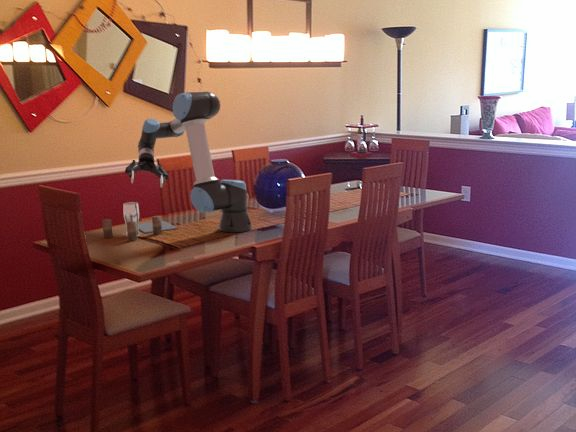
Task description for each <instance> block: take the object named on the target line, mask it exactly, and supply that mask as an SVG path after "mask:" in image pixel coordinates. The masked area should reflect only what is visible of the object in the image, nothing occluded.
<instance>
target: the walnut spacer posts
mask: <svg viewBox="0 0 576 432" xmlns="http://www.w3.org/2000/svg"><path fill="white" fill-rule="evenodd" d="M161 221H162V216H161V215H154V216H151V222H152V224H153V232H152V235H153V234H154V236H159V234H160V235H162V234H163V231H162V226H161ZM112 222H113V221H112V219H110V218H109V219H108V218H106V219H105V218H104V219H102V234H103V239H112V238H113V237H114V236H113V235H114V234H113V225H112V224H113V223H112ZM126 232H127V234H128V237H127V241H128V242H134V241H135V242H137V240H138V236H137V230H136V222H134V221H132V222H127V228H126Z"/></svg>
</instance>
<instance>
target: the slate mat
mask: <svg viewBox="0 0 576 432" xmlns="http://www.w3.org/2000/svg"><path fill="white" fill-rule="evenodd" d="M161 226H162V232H165V230H167V231H172V230H173V229H174V230H178V229H179V227H178V226H175V225H173V224H171V223H169V222H167V221H166V220H161ZM138 229H139V232H142V233H144V234H150V233H152V234H153V224H152V221H151V222H142V223H139V224H138Z"/></svg>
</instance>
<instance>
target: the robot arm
mask: <svg viewBox="0 0 576 432" xmlns="http://www.w3.org/2000/svg"><path fill="white" fill-rule="evenodd" d="M220 110H221V100H220V99H219V98H218V95H216V94H214V93H212V92H210V91H191V92H188V91H187V92H181V93H178V94H177V95H176V96H175V98H174V100H173V103H172V113H173V116H174V117H175V118H174V119H173V120H171V121H168V122H160V121H158V120H157V119H156V118H147V119H145V120H144V122H143V124H142V126H141V127H142V128H141V129H142V131H141V135H140V139H139V141H138V145H137V148H138V149H137V152H138V154H137V155H138V161H136V160H135V159H133V160H132V161H131V163H130V164H128V165H127V166H126V167H125V170H124V173H125V174H128V178H130V183H131V184H134V180H135V178H134V177H135V173H138V172H141V171H147V172H150V173H151V174H154V175H155V176H157V177H158V178H159V187H160V188H163V186H164V183H165V182H166V180H167V181H168V180H169V176H170V175H169V173H168V172H167V171H166V170H165V169H164V168H163V167H162V164H160V163H159V164H158V165H156V164H155V153H154V152H155V151H154V150H155V145H156V142H157V139H165V138H166V139H167V138H178V137H181V136H183V135H184V133H186V137H187V143H188V147H189V153H190V156H191V157H190V158H191V163H192V166H193V172H194V176H195V177H194V178H195V182H193V188H192V189H191V191H190V195H189V196H190V201H191V204H192V206H193V207H194V209H195V210H196V211H198V213H202V214H203V213H211V212H215V211H221V217H220V220H219V223H218V231H220V232H224V233H240V232H243V233H244V232H247V231H251V230H252V227H253V226H252V222H251V219H250V216H249V212H248V204H247V203H248V201H247V194H248V193H247V192H248V191H247V190H248V189H247V184H246V182H245V181H243V180H240V179H221V180H220V179H219V178H218V177H216V175H215V171H214V165H213V160H212V155H211V151H210V147H209V141H208V136H207V131H206V126H205V125H206V123H207V120H210V119H212V118H214V117H215V116H217V114H219V112H220ZM246 193H247V194H246Z"/></svg>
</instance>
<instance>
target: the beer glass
mask: <svg viewBox="0 0 576 432" xmlns="http://www.w3.org/2000/svg"><path fill="white" fill-rule="evenodd" d="M122 207H123V210H122V211H123V219H124V223H125V226H126V229H127V222H132V221H134V222H136V230H137V237H140V234H141V233H140V230H139V229H138V224H140V223H139V222H140V209H139V202H137V201H136V202H135V201H128V202H125V203H124V202H123V206H122ZM125 234H126V235H125V236H126V237H127V238H128V234H127V231H126V233H125Z"/></svg>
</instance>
